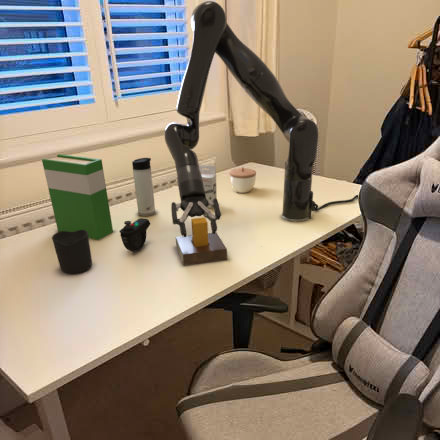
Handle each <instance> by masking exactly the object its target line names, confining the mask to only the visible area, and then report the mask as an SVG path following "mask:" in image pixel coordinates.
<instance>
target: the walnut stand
mask: <svg viewBox="0 0 440 440" xmlns="http://www.w3.org/2000/svg"><path fill="white" fill-rule="evenodd" d="M175 245H176V250H177V252H178V255H179V258H180V260H181V263H182V265H183V266H190V265H197V264H205V263H206V264H207V263H214V262H221V261H227V260H228V249H227V247H226V245H225V244H224V242H223V240H222V239H221V237H220V235H219V234H218V232H217V231H216V232H215V234H212V232H208V245H207V246H199V247H194V246H193V240H192V234H190V235H187V236H186V237H184V235H181V236H176V237H175Z"/></svg>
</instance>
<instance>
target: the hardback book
mask: <svg viewBox="0 0 440 440" xmlns="http://www.w3.org/2000/svg"><path fill="white" fill-rule="evenodd" d="M41 162H42V167H43V171H44V176H45V179H46V184H47V189H48V194H49V198H50V202H51V206H52V211H53V216H54V219H55V225H56V228H57V232H61V231H68V232H75V231H78V230H85V231H87V232H88V238H89V239H92V240H96V241H99V240H101V239H103V238H106V237H107V236H108V235H110V234H112V233H114V227H113V222H112V216H111V209H110V204H109V203H110V202H109V197H108V190H107V183H106V179H105V171H104V167H103V166H104V165H103V160H102V159H101V158H94V157H86V156H84V157H83V156H77V155H69V154H57V155H56V157H55V158H51V159H50V158H49V159H48V158H42V159H41Z"/></svg>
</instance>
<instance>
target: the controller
mask: <svg viewBox="0 0 440 440" xmlns="http://www.w3.org/2000/svg"><path fill="white" fill-rule="evenodd" d="M123 224H124V226H123V227H122V228H121V229H120V230H119V234H120V238H121V242H122V245H123V247H124V248H125V249H126V250H128V251H130V252H139V251H141V250H142V249H143V247H144V246H145V243H146V241H147V230H148V228H149V227H150V226H151V225H152V224H151V222H150V220H149V219H148V218H143V217H142V218H138V219H136V220H135V221H131V220H125V221H123Z"/></svg>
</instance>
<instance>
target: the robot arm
mask: <svg viewBox="0 0 440 440" xmlns="http://www.w3.org/2000/svg"><path fill="white" fill-rule="evenodd" d="M190 24H191V29H192V31H193V37H192V44H191V45H192V46H191V51H190V56H189V60H188V64H187V67H186V70H185V72H184V76H183V78H182V82H181V86H180V90H179V94H178V99H177V104H176V109H175V110H176V112H177V114H178V115H180V116H182V117H184V118H185V119H186V124H185V123H184V124H183V123H178V122H170V123H168V124H167V126H166V127H165V129H164V141H165V144H166V147H167V149H168V152H169V153H170V155H171V157H172V159H173V161H174V165H175V166H174V167H175V172H176V182H177V187H178V193H179V199H180V203H177V202H174V201H173V202H171V205H170V210H171V220H172V225H178V226H179V230H180V234H181V236H184V237H186V236H188V234H187V228H186V221H187V219H188V217H190V218H195V217H202V216H203V217H205V219H206V220H207V219H208V221H209V222H210V230H211V233H212V234H215V232H217V231H218V224H217V221H219V220H221V216H222V212H221V208H220V205H219V201H218V199H216V198H214V199H213V200H210V201H208V200H207V199H206V195H205V190H204V185H203V180H202V175H201V172H200V169H199V165H200V164H199V158H198V155H197V153H196V151H194V149H195V148H196V147H197V145H198V144H199V140H200V113H201V108H202V105H203V100H204V96H205V92H206V87H207V83H208V79H209V74H210V70H211V65H212V64H213V63H212V62H213V60H214V56H215V54H216V56H218V58H219V59H220V60H221V61H222V62H223V64H224V66H225V67H226V68H227V70H228V71H229V72H230V74H231V75H232V76H233V78H234V79H235V81H236V82H237V83H238V84H239V86H240V87H241V88H242V89H243V90H244V92H245V93H246V94H247V95H248V96H249V97H250V99H252V101H253V102H254V103H255V104H256V105H257V106H258V107H260V109H262V111H264V113H266V114H267V115H268V116H269V117H270V118H271V119H272V121H273V122H274V123H275V125H276V126H277V127H278V129H279V130H280V132H281V133H282V135H283V136H284V139H286V141H287V142H288V143H289V146H288V156H287V158H286V159H285V161H284V176H283V177H284V179H283V195H282V214H281V218H282V219H283V220H284V221H288V222H293V223H301V222H305V221H309V220H311V219H312V214H313V213H312V212H319V210H322V209H324V208H326V207H328V206H330V205H334V204H336V205H337V204H346V203H351V202H354V201H355V200H357V199H359V198H358V195H359V194H356V195H354V196H353V197H352V198H349V199H343V200H335V201H328V202H326V203H324V204H323V205H321V206H319V205H318V204H317V203H316V202H315V201H314V198H313V197H314V191H313V190H312V183H313V171H314V164H315V162H316V159H317V153H318V143H319V127H318V125H317V124H316V122H315V121H314V120H312V119H310V118H309V117H307V116H305V115H304V114H303V113H302V112H300V111H299V110H298V108H296V107H295V106H294V105H293V103H292V102H291V101H290V100H289V99H288V97H287V96H286V94H285V93H286V92H285V91H284V89H283V87H282V86H281V83H280V81H279V80H278V79H277V77H276V76H275V74H274V73H273V71H272V70H271V69H270V68H269V67H268V65H267V64H266V63H265V62H264V61H263V60H262V59H261V57H259V55H257V54H256V53H255V52H254V51H253V50H252V49H251V48H249V47H248V46H247V45H246V44H245V43H244V42H243V41H242V40H240V39H239V37H238V36H237V35H236V34H235V32H234V31H233V30H232V27H230V25H229V24H228V22H227V15H226V12H225V10H224V8H223V7H222V6H221V4H219V3H218V2H216V1H212V0H207V1H203V2H201V3H200V4H198V5H196V7H195V8H194V9H193V11H192V13H191V17H190ZM208 205H210V206H211V207H212V208H211V209H213V212H214V213H212V212H211V210H210V208H207V207H208ZM179 209H180V210H182V212H183V213H182V215H181V217H180V218H178V213H177V212H179Z"/></svg>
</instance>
